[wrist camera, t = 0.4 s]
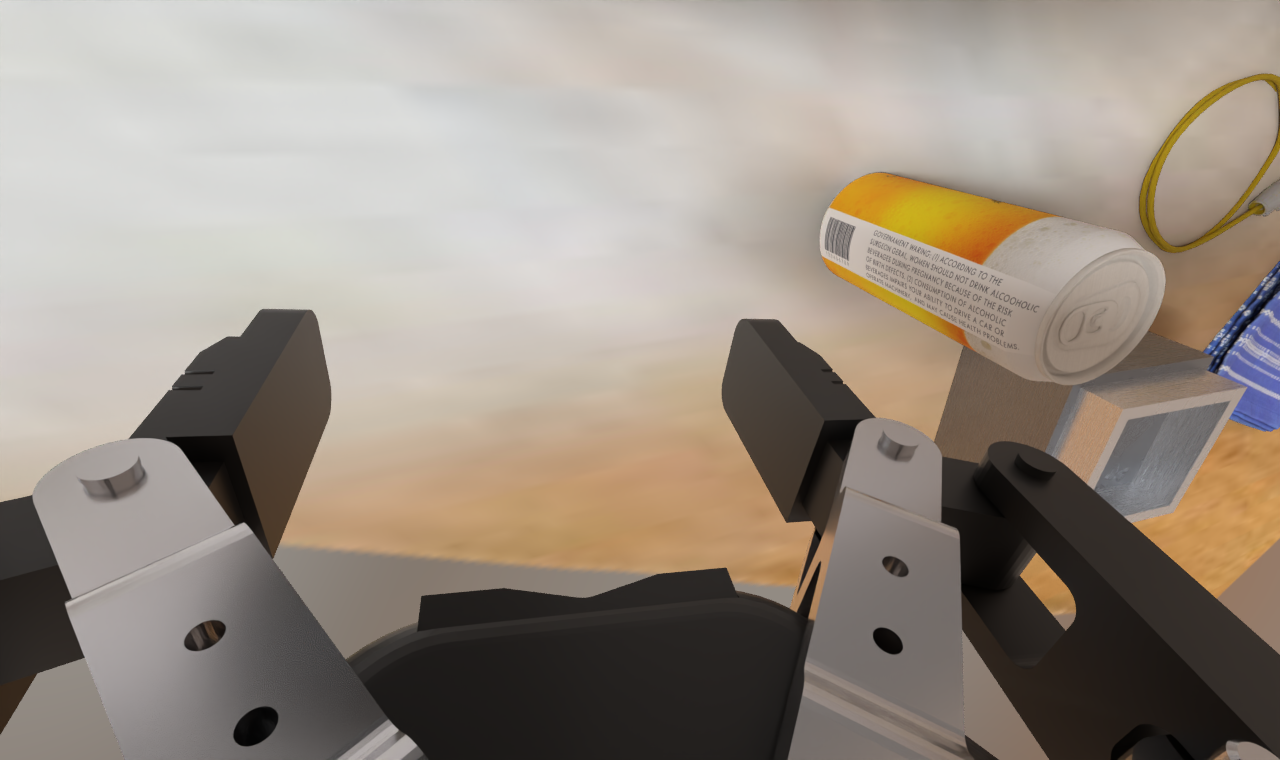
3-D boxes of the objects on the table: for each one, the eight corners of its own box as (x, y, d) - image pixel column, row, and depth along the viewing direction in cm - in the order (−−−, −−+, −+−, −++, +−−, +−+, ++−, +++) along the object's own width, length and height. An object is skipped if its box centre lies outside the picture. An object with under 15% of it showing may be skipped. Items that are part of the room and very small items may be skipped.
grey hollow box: (970, 325, 40) (1118, 400, 31) (1092, 310, 42) (1262, 375, 33) (918, 494, 47) (1026, 594, 38) (1025, 472, 49) (1150, 561, 40)
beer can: (898, 264, 35) (1143, 373, 23) (809, 284, 34) (1015, 411, 22) (910, 161, 32) (1200, 223, 20) (813, 180, 31) (1054, 258, 19)
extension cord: (1221, 276, 45) (1250, 284, 43) (1100, 224, 39) (1129, 231, 37) (1340, 114, 40) (1378, 117, 39) (1224, 27, 35) (1263, 26, 33)
